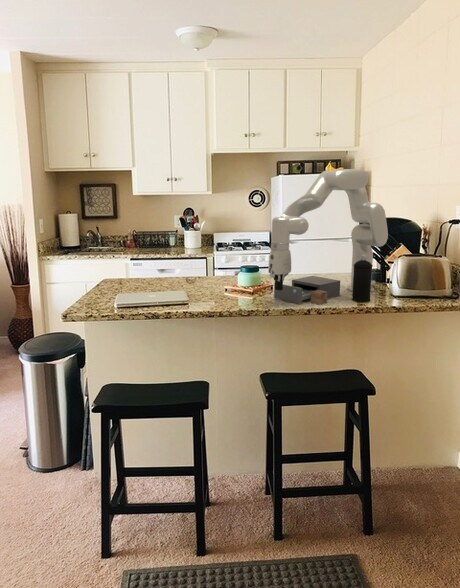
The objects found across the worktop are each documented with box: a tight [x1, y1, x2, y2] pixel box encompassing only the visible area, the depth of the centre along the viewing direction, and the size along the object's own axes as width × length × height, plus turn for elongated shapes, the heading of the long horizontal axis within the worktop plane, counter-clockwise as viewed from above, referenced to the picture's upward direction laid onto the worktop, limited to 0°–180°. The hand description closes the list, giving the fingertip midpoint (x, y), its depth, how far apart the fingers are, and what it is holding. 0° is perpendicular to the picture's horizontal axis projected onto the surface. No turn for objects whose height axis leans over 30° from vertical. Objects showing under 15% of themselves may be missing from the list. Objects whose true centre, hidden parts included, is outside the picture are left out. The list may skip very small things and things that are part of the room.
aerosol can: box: [351, 255, 374, 303], centre depth 226 cm, size 8×8×20 cm
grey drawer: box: [273, 282, 312, 305], centre depth 229 cm, size 16×15×7 cm
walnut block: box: [309, 290, 328, 305], centre depth 223 cm, size 5×5×5 cm
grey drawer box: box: [291, 275, 341, 299], centre depth 238 cm, size 15×16×7 cm
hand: (278, 289), depth 220 cm, fingers closed
